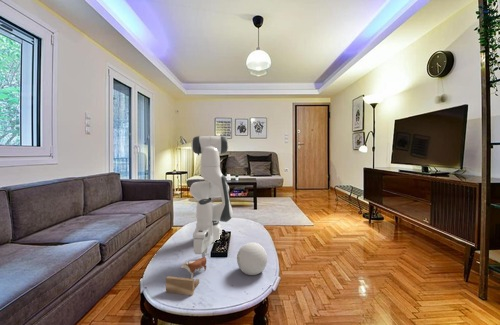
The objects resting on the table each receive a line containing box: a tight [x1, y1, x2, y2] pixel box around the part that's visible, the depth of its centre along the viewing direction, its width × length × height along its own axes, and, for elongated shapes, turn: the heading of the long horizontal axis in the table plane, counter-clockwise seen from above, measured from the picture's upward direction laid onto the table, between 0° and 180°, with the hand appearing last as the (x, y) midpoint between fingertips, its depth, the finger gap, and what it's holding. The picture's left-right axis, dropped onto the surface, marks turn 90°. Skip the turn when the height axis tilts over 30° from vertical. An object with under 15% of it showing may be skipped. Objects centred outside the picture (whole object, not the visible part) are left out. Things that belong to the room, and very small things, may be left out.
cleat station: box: [165, 276, 200, 296], centre depth 104 cm, size 10×12×6 cm
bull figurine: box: [180, 256, 208, 279], centre depth 115 cm, size 4×13×8 cm, turn 135°
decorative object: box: [236, 241, 268, 276], centre depth 117 cm, size 15×15×15 cm
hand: (204, 256), depth 126 cm, fingers closed
